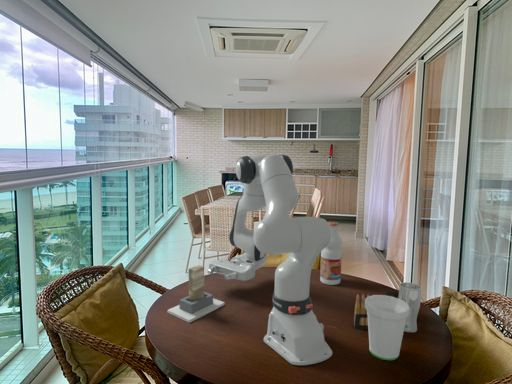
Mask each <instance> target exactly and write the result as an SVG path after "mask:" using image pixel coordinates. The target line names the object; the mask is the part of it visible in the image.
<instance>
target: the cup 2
mask: <svg viewBox="0 0 512 384" xmlns="http://www.w3.org/2000/svg"><path fill="white" fill-rule="evenodd" d="M365 308H366V310H367V316H368V329H367V330H368V331H367V332H368V344H369V346H368V347H369V348H368V350H369V352H370V353H371V355H372V356H373V357H376V358H378V359H379V360H385V361H394V360H396V359H398V358H399V357H400V351H401V347H402V341H403V336H404V332H405V331H404V327H405V322H406V317H407V316H408V315H409V311H410V308H409V305H408V304H407V303H406V302H404V301H402V300H400V299H398V298H395V297H391V296H386V295H385V294H374V295H369V297H367V296H366V297H365Z"/></svg>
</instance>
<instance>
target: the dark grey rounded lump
mask: <svg viewBox="0 0 512 384" xmlns="http://www.w3.org/2000/svg"><path fill="white" fill-rule="evenodd" d="M398 293H399V289H395V290H394V289H392V288H391V289H386V290H384V295H386V296H391V297H395V298H398Z"/></svg>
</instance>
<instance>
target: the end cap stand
mask: <svg viewBox="0 0 512 384" xmlns="http://www.w3.org/2000/svg"><path fill="white" fill-rule="evenodd" d="M225 304H226V303H225V301H222V300H220V299H217V298H214V294H211V293H209V292H206V291H204V297H203V298H201V299H199V300H197V301H195V302H190V301H189V295H188V296H184V297H183V298H181V299H179V304H178V305H175V306H173V307H171V308H168V309H167V311H166V313H167V314H169V315H172V316H174V317H176V318H178V319H180V320H182V321H184V322H186V323H188V324H190V323H192V322H194V321H196V320H198V319H200V318H202V317H204V316H206V315H207V314H210V313H211V312H213V311H216V310H218V309H220V308H221V307H224V306H225Z"/></svg>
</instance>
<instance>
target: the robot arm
mask: <svg viewBox="0 0 512 384" xmlns="http://www.w3.org/2000/svg"><path fill="white" fill-rule="evenodd" d="M293 172H294V164H293V161H292V159H291V157H289V155H286V154H254V155H244V156H241V157H239V158H238V159H237V160H236V164H235V174H236V178H237V180H238V182H240V183H242V184H243V191H242V192H243V193H242V196H240V197H239V198H238V200H237V202H236V205H235V208H234V215H233V222H232V225H231V226H232V227H231V229H230V232H229V237H228V238H229V243H230V244H231V246H232V247H234V248H238V249H240V250H242V251H244V253H242V254H239V255H235V256H234V257H231V259H230V260H226V259H217V260H212V261H210V262H209V263H208V270H207V274H209V275H212V274H214V273H215V274H220V275H223V276H224V279H225V280H226V281H229V280H239V281H242V282H245V281H248V280H250V279H253V278H255V276H256V270H259V269H260V268H262V267H263V266H264V265H265V264H266V262H267V259H268V257H267V254H268V255H277V256H278V255H284V254H285V255H287V254H288V256H287V258H286V259H285V260H284V261H283V262H281V263H280V264H279V265H278V266H277V267H276V269H275V270H274V290H273V293H272V306H273V307H272V309H271V311H270V313H269V314H268V321H267V333H266V334H265V335H264V337H263V342H264V343H265V344H266V345H267V346H269V347H270V348H271V349H273V350H274V351H275V352H276V353H277V354H278V355H279V356H281V357H282V358H283V359H285V360H286V361H287V362H288V363H290V364H291V365H293V366H308V365H314V364H318V363H321V362H323V361H324V362H325V361H326V360H328V359H330V358H331V357H332V356H333V350H332V349H331V347H330V346H329V345H328V343H327V342H326V340H325V334H324V324H323V323H322V322H321V323H320V322H319V321H318V319H317V315H316V314H315V313H314V312H313V305H314V304H313V303H312V299H311V295H310V285H311V283H310V282H311V274H312V270H313V267H314V264H315V262H316V260H317V258H318V257H319V255H321V251H322V250H323V249H324V248H325V247H327V246H328V244H329V243H330V241H331V237H332V232H331V228H330V225H329V224H328V222H329V221H327V220H326V219H324V218H321V217H317V216H298V217H297V216H295V217H292V216H291V215H290V212H291V211H292V210H294V209H295V208H296V207H297V206H298V204H299V200H300V195H299V192H298V189H297V186H296V183H295V180H294V178H293V177H294V176H293ZM265 207H266V208H265ZM264 208H265V214H264V215H263V218H262V219H261V221H259V222H258V223H257V225H256V226H255V227H254V230H251V229H249V228H248V227H247V226H246V220H247V216H248V212H257V211H261V210H262V209H264Z"/></svg>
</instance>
